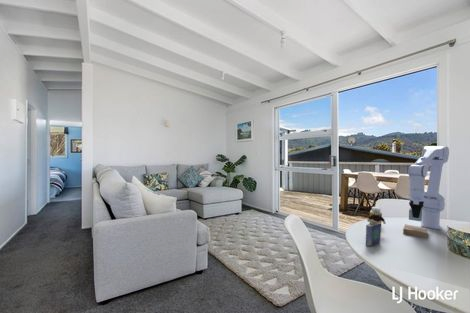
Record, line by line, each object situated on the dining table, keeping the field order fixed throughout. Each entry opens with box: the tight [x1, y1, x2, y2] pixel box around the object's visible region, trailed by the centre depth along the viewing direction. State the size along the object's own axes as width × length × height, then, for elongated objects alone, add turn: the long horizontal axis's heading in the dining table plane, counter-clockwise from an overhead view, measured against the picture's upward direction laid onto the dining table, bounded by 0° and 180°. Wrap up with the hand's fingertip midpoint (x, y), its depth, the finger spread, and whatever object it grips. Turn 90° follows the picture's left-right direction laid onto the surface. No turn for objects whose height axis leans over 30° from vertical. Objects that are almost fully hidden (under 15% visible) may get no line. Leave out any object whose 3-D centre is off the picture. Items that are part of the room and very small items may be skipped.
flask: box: [365, 219, 382, 247], centre depth 100 cm, size 9×3×11 cm, turn 121°
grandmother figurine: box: [367, 208, 386, 225], centre depth 113 cm, size 8×4×13 cm, turn 68°
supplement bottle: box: [368, 206, 383, 224], centre depth 124 cm, size 6×6×10 cm
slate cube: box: [408, 207, 423, 223], centre depth 114 cm, size 5×5×5 cm
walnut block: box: [402, 224, 429, 239], centre depth 114 cm, size 9×9×3 cm
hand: (415, 216), depth 114 cm, fingers closed on slate cube, 5 cm apart
